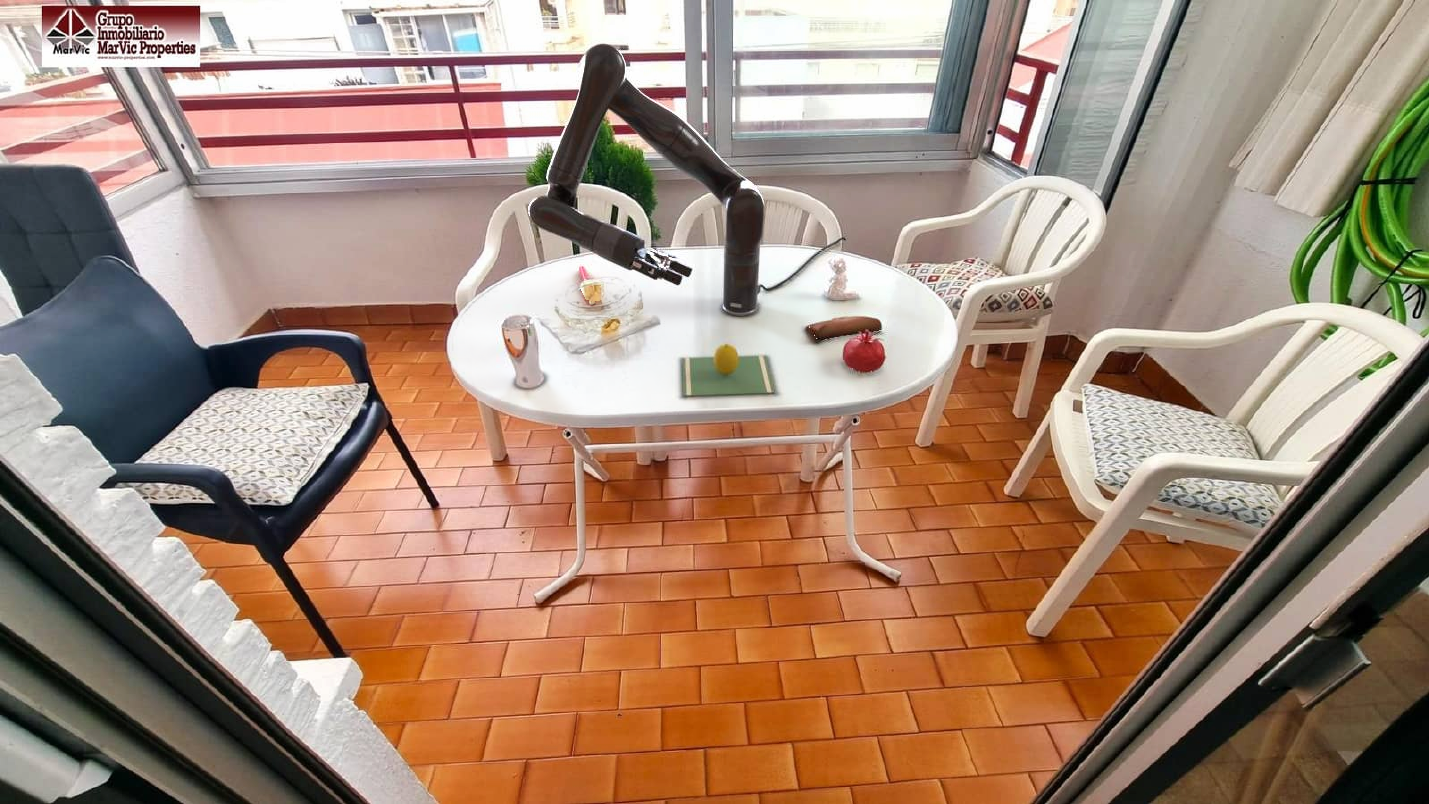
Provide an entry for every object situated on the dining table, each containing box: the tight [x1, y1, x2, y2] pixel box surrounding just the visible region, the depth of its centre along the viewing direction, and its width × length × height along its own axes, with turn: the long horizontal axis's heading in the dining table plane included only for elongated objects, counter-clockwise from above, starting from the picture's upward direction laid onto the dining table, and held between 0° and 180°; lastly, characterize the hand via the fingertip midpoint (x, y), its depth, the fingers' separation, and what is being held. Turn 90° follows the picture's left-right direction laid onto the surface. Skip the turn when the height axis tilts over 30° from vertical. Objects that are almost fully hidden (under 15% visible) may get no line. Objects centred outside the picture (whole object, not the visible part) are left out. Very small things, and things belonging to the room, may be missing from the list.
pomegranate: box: [842, 330, 887, 374], centre depth 132 cm, size 10×10×9 cm
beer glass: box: [500, 314, 545, 389], centre depth 125 cm, size 7×7×15 cm
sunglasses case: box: [805, 315, 883, 343], centre depth 147 cm, size 18×7×7 cm
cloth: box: [681, 355, 776, 398], centre depth 132 cm, size 15×20×1 cm
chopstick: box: [578, 264, 589, 281], centre depth 167 cm, size 24×2×5 cm
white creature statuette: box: [823, 255, 860, 301], centre depth 161 cm, size 10×9×12 cm
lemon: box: [713, 343, 739, 375], centre depth 129 cm, size 6×6×8 cm
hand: (686, 276), depth 125 cm, fingers open, 8 cm apart
